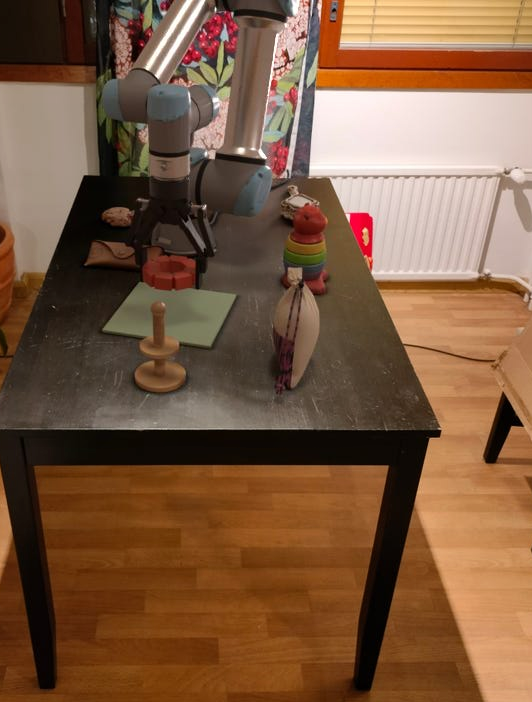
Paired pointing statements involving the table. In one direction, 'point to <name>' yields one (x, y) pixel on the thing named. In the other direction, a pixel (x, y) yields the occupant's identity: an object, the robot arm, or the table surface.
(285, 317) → the pouch
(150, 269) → the ring
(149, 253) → the sunglasses case
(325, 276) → the stacking bear
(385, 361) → the table surface
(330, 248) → the table surface
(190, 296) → the mat
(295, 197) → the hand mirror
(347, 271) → the table surface
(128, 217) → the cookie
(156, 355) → the ring post
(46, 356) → the table surface
